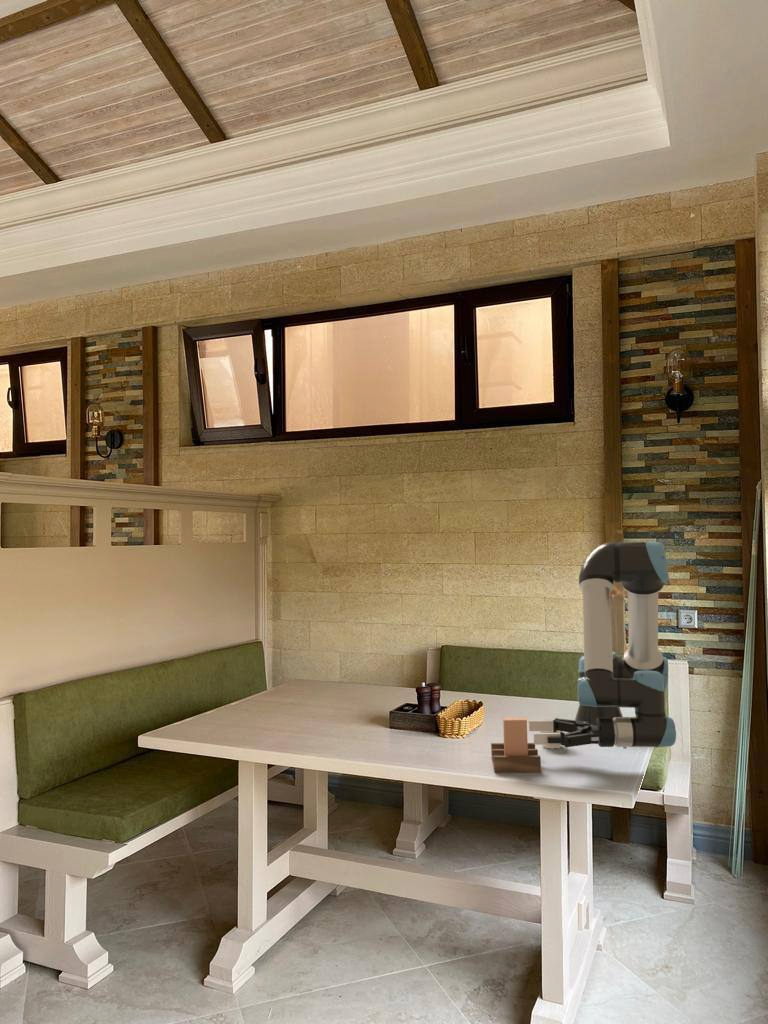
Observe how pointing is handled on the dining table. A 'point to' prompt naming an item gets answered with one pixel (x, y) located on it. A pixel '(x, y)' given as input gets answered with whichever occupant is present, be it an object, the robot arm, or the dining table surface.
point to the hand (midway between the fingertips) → (531, 732)
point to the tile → (515, 736)
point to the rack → (515, 760)
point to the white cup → (551, 745)
